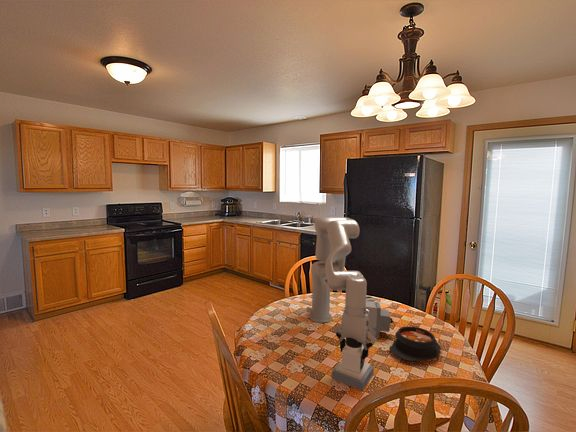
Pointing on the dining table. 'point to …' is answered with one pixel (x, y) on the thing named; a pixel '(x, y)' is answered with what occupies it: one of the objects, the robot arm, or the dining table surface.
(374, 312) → the circuit breaker
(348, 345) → the medicine bottle
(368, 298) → the grey curved block
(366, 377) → the stand
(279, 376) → the dining table surface
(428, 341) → the casserole
